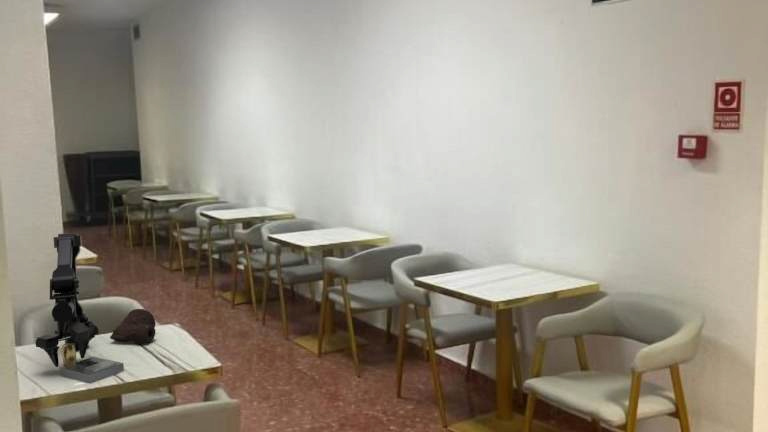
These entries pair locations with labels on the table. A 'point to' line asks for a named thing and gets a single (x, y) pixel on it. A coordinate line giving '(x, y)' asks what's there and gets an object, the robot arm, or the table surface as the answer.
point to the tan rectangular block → (69, 354)
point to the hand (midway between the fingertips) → (69, 362)
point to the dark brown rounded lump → (136, 328)
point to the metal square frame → (91, 369)
